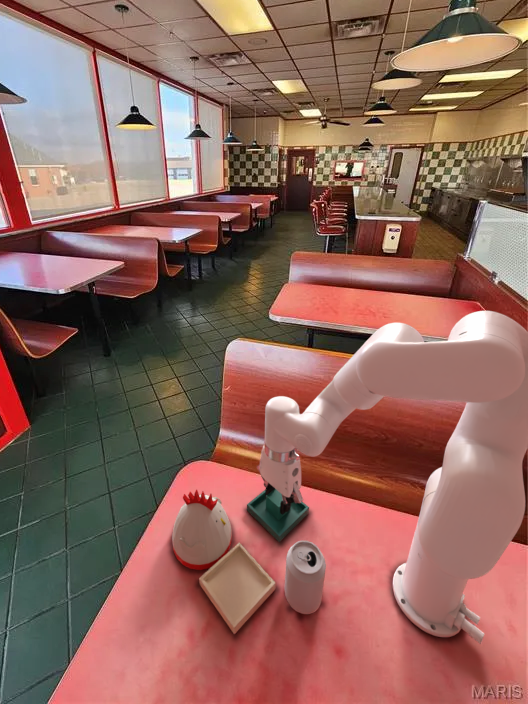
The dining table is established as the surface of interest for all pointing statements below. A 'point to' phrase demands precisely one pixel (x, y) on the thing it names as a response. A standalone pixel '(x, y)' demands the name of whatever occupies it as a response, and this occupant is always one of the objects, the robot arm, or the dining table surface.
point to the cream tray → (237, 586)
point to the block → (274, 503)
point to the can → (304, 577)
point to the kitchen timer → (201, 531)
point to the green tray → (271, 522)
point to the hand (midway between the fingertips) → (277, 503)
